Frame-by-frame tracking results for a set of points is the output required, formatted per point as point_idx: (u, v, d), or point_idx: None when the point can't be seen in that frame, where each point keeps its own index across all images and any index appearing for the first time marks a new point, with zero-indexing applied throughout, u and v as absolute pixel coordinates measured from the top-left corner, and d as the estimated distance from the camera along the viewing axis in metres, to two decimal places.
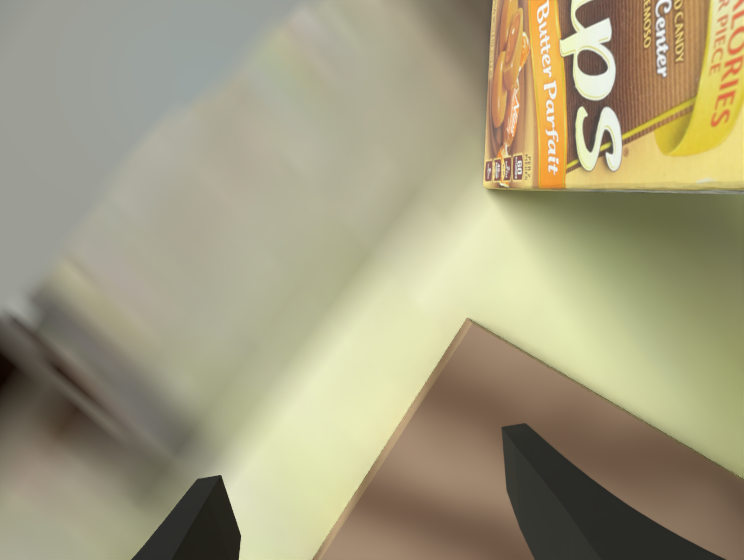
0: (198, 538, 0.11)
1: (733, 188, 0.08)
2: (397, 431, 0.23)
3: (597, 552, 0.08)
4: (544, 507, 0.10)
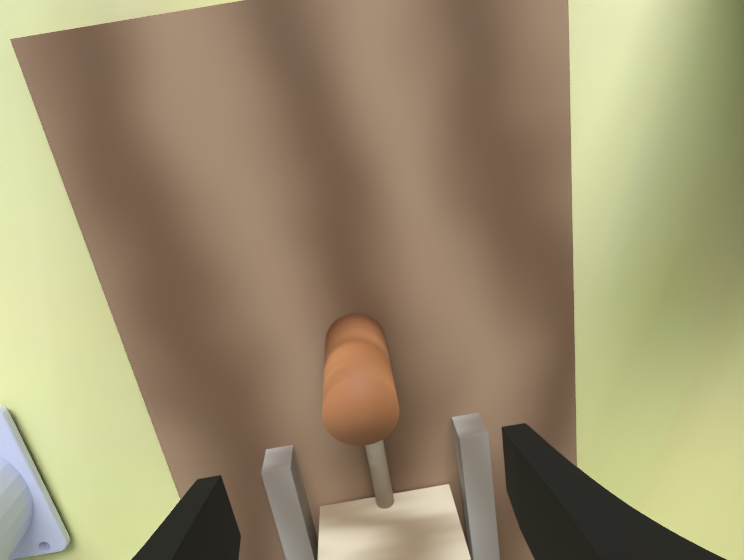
0: (199, 538, 0.11)
1: None
2: None
3: (597, 552, 0.08)
4: (544, 507, 0.10)
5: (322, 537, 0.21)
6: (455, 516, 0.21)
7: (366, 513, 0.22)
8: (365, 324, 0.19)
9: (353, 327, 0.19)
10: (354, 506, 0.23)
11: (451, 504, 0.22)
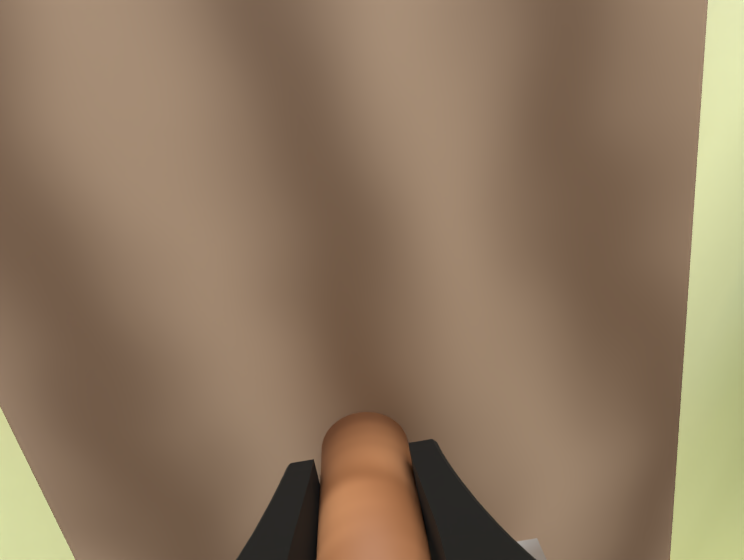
0: (306, 519, 0.11)
1: None
2: None
3: None
4: (431, 527, 0.10)
5: None
6: None
7: None
8: (380, 435, 0.13)
9: (363, 442, 0.12)
10: None
11: None
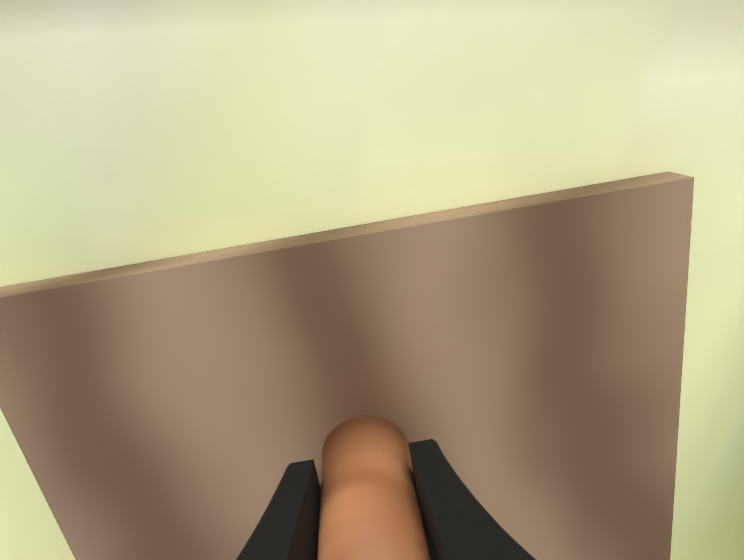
0: (306, 519, 0.11)
1: None
2: (433, 216, 0.13)
3: None
4: (431, 527, 0.10)
5: None
6: None
7: None
8: (380, 439, 0.13)
9: (363, 447, 0.12)
10: None
11: None
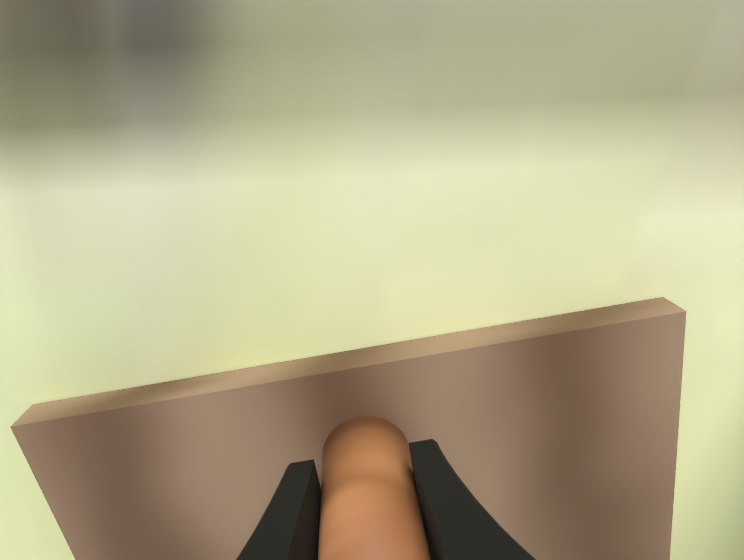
0: (306, 519, 0.11)
1: None
2: (448, 340, 0.14)
3: None
4: (431, 527, 0.10)
5: None
6: None
7: None
8: (381, 440, 0.13)
9: (364, 447, 0.12)
10: None
11: None
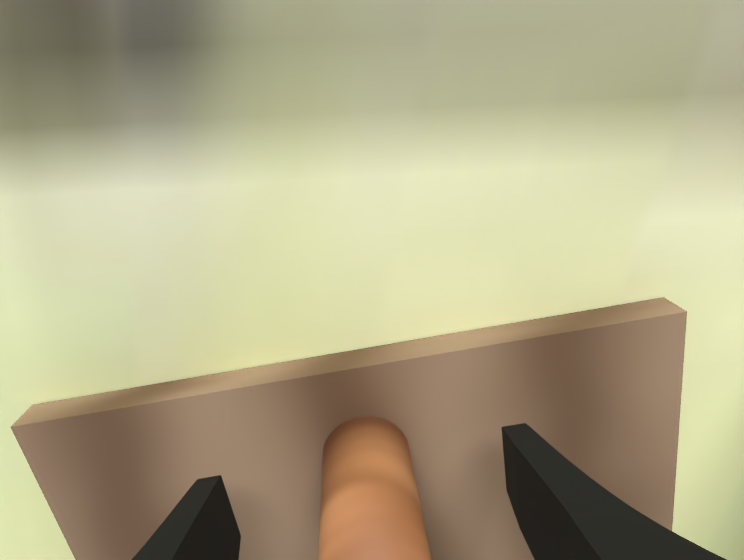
0: (198, 537, 0.11)
1: None
2: (449, 340, 0.14)
3: (597, 552, 0.08)
4: (544, 507, 0.10)
5: None
6: None
7: None
8: (381, 439, 0.13)
9: (364, 447, 0.12)
10: None
11: None
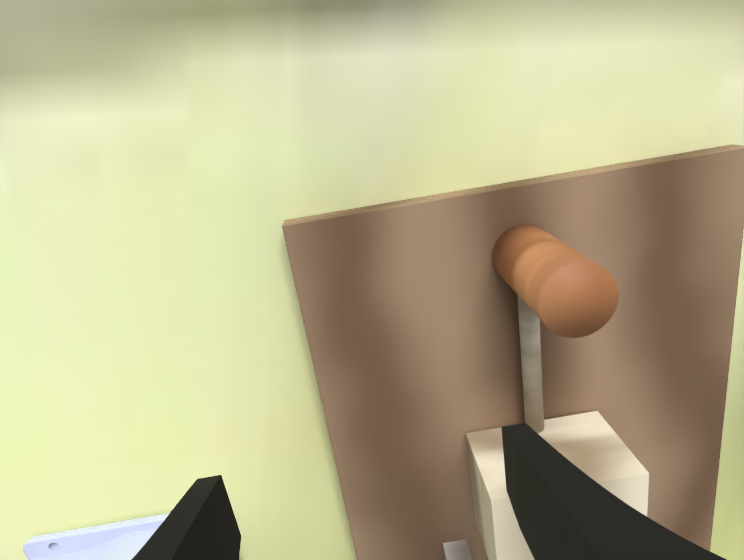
0: (198, 537, 0.11)
1: None
2: (583, 172, 0.19)
3: (597, 552, 0.08)
4: (544, 507, 0.10)
5: (479, 459, 0.21)
6: (616, 437, 0.21)
7: None
8: (543, 231, 0.18)
9: (534, 232, 0.18)
10: None
11: (607, 427, 0.21)
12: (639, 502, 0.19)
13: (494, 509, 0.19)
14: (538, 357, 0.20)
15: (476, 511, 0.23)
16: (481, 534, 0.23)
